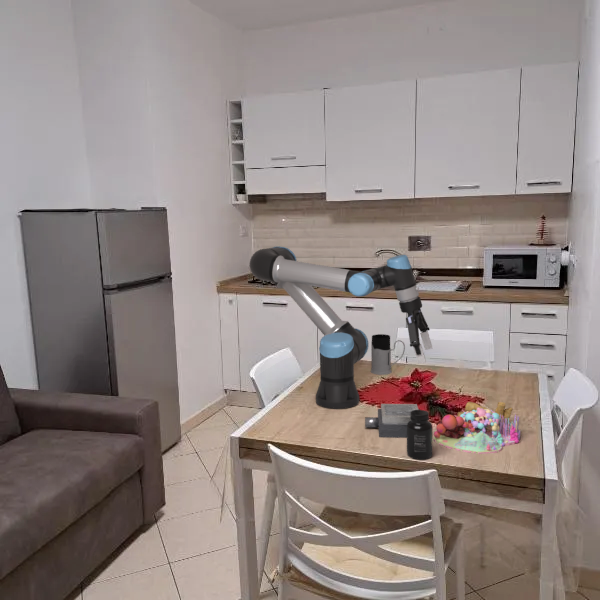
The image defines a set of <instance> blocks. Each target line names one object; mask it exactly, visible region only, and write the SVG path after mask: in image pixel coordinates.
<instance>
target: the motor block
mask: <svg viewBox="0 0 600 600" xmlns="http://www.w3.org/2000/svg"><path fill="white" fill-rule="evenodd" d="M413 410H421V409H420V408H419V406H418V404H417V403H415V404H414V403H380V408H377V417H376V416H375V417H374V416H373V417H370V416H369V417H368V416H366V417H364V428H376V429H377V428H378V429H377V430H378V437H379V438H395V439H396V438H402V439H407V423H408V422H409V421H410V420H411V419H410V416H411V411H413Z"/></svg>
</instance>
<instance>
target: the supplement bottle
mask: <svg viewBox="0 0 600 600" xmlns="http://www.w3.org/2000/svg"><path fill="white" fill-rule="evenodd" d="M410 419H411V420H410V421H409V422H408V423H407V438H406V453H407V456H408V457H409V458H411V459H414V460H419V461H421V460H428V459H430V458H432V456H433V449H434V448H433V447H434V446H433V441H434V440H433V437H434V432H433V424H432V423H431V421H429V420H430V414H429V412H428V411H427V410H424V409H420V410H413V411H411V416H410Z"/></svg>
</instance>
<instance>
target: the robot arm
mask: <svg viewBox="0 0 600 600" xmlns="http://www.w3.org/2000/svg"><path fill="white" fill-rule="evenodd" d="M249 270H250V272H251V274H252V275H253V276H254V277H255V278H256V279H257V280H261V281H264V282H272V283H273V285H275V286H276V287H277V288H278V289H281V288H282V289H284V291H285V292H286V293H287V295H289V296H290V298H291V299H292V300H293V301H294V303H295V304H297V306H298V307H299V308H300V309H301V311H302V312H303V313H304V314H305V315H306V316H307V317H308V318H309V319H310V320H311V322H312V323H313V324H314V325H315V326H316V328H317V329H318V330H319V331H320V332H321V334H322V335H324V336H322V337H321V339H320V341H319V348H318V349H319V368H320V369H319V372H320V373H319V374H320V375H319V378H320V381H319V385H318V388H317V391H316V394H315V403H316V404H317V405H318V406H319V407H322V408H326V409H334V410H335V409H336V410H337V409H338V410H340V409H341V410H343V409H349V408H353V407H355V406H357V405H358V404H359V403H360V394H359V391H358V389H357V385H356V382H355V378H354V377H355V364H357V362H359V361H361V360H362V359H363V358H364V357H365V355H366V354H367V352H368V351H369V340H368V337H367V335H366V334H365V333H364V331H362V330H361V329H359V328H355V327H354V326H353V325H352V324H351V323H350V322H349V320H342V319H341V317H340V316H339V315H337V313H336V312H335V310H333V308H332V307H331V306H330V305H329V304H328V302H326V301H325V299H324V298H323V297H322V296H321V295H320V293H319V292H317V290H315V288H314V287H318V288H323V289H327V290H333V291H339V292H343V293H344V292H346V293H349V294H352V295H353V296H354V297H358V298H359V297H366V296H368V295H370V294H371V293H373V292H375V291H377V290H382V289H384V288H389V287H393V288H394V291H395V295H396V298H397V299H396V300H397V302H398V304H399V308H400V312H401V313H403V314H405V313H406V314H407V317H405V321H406V325H407V331H408V336H409V337H408V338H409V343H410V344H409V346H410V347H413V351H414V353H415V355H414V356H415V358H416V362H417V364H422V363H423V364H424V363H426V362H427V359H426V356H425V352H424V350H430V349H433V345H432V341H431V338H430V334H429V332H428V331H430V327H429V326H428V323H427V320H426V319H425V317H424V314H423V311H422V309H421V308H422V307H423V304H422V300H421V297H420V296H419V295H420V293H419V291H420V287H418V286H417V283H416V279H415V276H414V272H413V269H412V265H411V263H410V259H409V257H408V255H406V254H400V255H399V254H398V255H395V256H392V257H389V258H388V259H387V260H386V264H385V265H382V266H379V267H378V266H377V267H375V268H370V269H365V270H362V271H360V270H359V271H358V270H351V269H345V268H339V267H334V266H329V265H321V264H315V263H309V262H305V261H304V262H303V261H299V260H298V261H297V257H296V254H295V253H294V252H293V251H292V249H289V248H287V247H285V246H273V247H268V248H267V247H266V248H262V249H259V250H256V251H255V252H254V253H253V254H252V255H251V257H250V260H249ZM420 338H421V340H420ZM420 341H422V344H423V346H422V344H421V342H420ZM423 348H424V349H423Z"/></svg>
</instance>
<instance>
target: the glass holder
mask: <svg viewBox="0 0 600 600" xmlns="http://www.w3.org/2000/svg"><path fill="white" fill-rule="evenodd" d="M397 342H400V343H402V344H403V345H402V346H403V351H402V354H401V356H400V357H399V358H398V359H397V360H396V361H394V362H393V363H392V361H391V359H392V357H391V353H392V352H391V351H395V347H396V344H397ZM405 345H406V344H405V342H404V341H402V340H401V339H400V340H396V341H395V342H394V343H393V349H391V335H389V334H385V333H384V334H383V333H380V334H379V333H378V334H372V335H371V356H370V357H371V369H370V373H371V374H373V375H379V376H384V375H385V376H386V375H390V374H392V366H393V365H395V364H396V363H398V362H399V360H401V359H402V358H403V356H404V354H405V350H406V346H405Z"/></svg>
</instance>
